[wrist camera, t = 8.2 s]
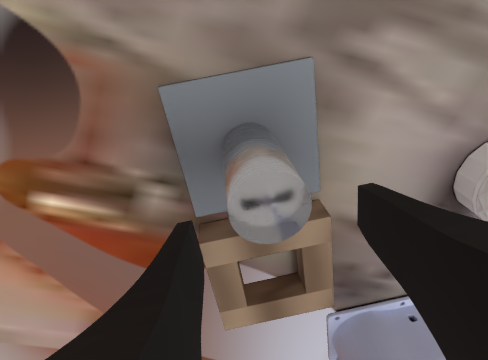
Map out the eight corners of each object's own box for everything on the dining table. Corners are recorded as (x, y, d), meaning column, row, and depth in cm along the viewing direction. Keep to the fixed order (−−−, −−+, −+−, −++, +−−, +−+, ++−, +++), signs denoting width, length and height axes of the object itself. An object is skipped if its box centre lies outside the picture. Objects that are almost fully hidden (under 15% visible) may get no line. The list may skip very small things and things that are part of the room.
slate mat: (311, 56, 19) (313, 57, 19) (318, 189, 24) (320, 191, 23) (158, 86, 19) (157, 87, 18) (196, 214, 23) (196, 217, 23)
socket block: (319, 199, 24) (330, 216, 22) (323, 285, 29) (333, 306, 27) (199, 224, 24) (198, 244, 22) (223, 307, 28) (225, 330, 26)
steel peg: (273, 117, 20) (309, 164, 13) (279, 169, 22) (313, 235, 15) (216, 128, 20) (220, 181, 13) (227, 179, 22) (235, 250, 15)
